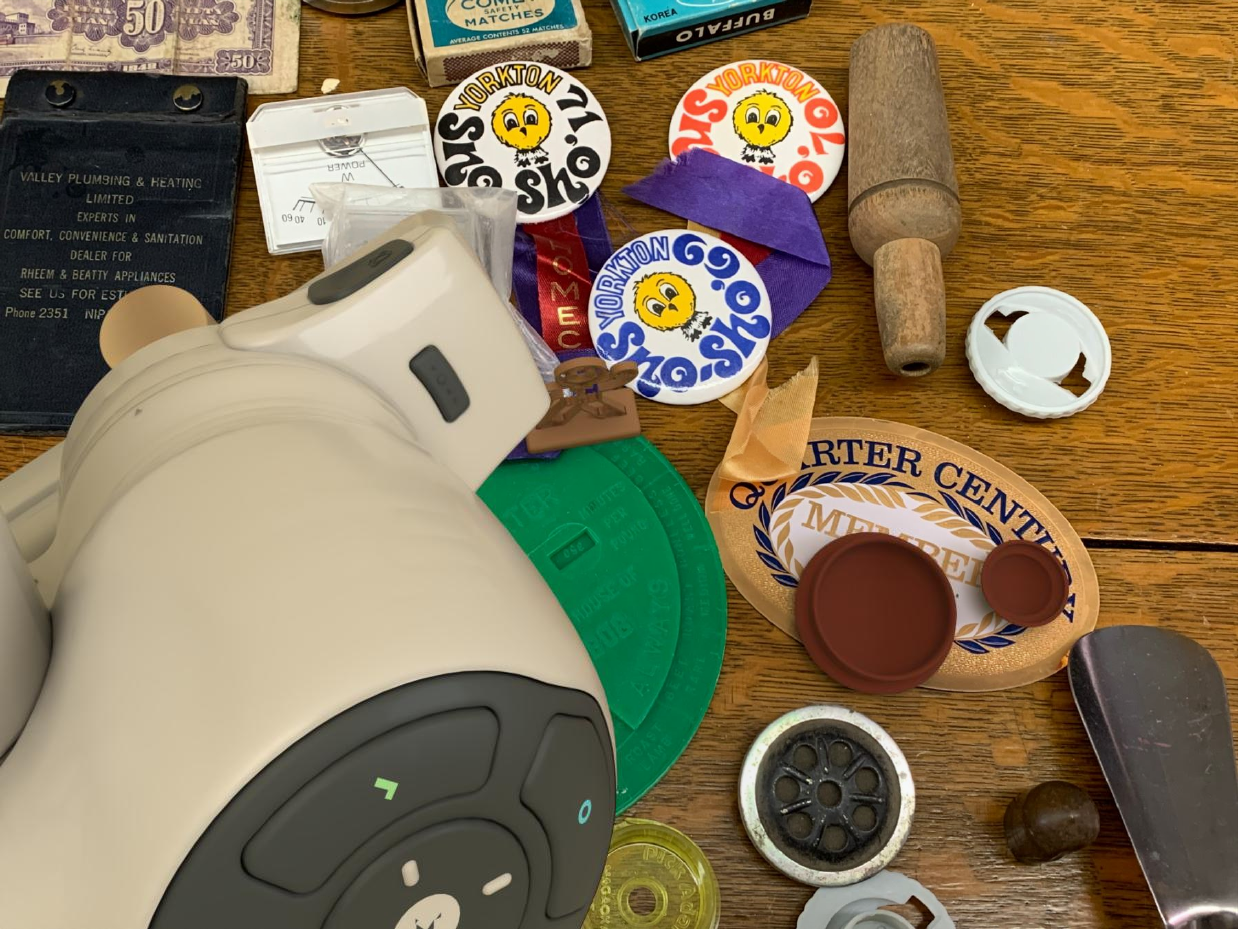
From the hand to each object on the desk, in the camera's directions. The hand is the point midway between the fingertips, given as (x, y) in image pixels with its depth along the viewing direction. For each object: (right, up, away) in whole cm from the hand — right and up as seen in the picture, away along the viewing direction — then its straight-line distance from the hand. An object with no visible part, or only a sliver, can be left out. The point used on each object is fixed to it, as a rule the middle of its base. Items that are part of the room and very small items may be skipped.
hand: (197, 369), depth 37 cm
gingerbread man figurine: (+13, 0, +38) cm, 40 cm away
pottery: (+39, -14, +34) cm, 54 cm away
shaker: (0, -2, +5) cm, 5 cm away
